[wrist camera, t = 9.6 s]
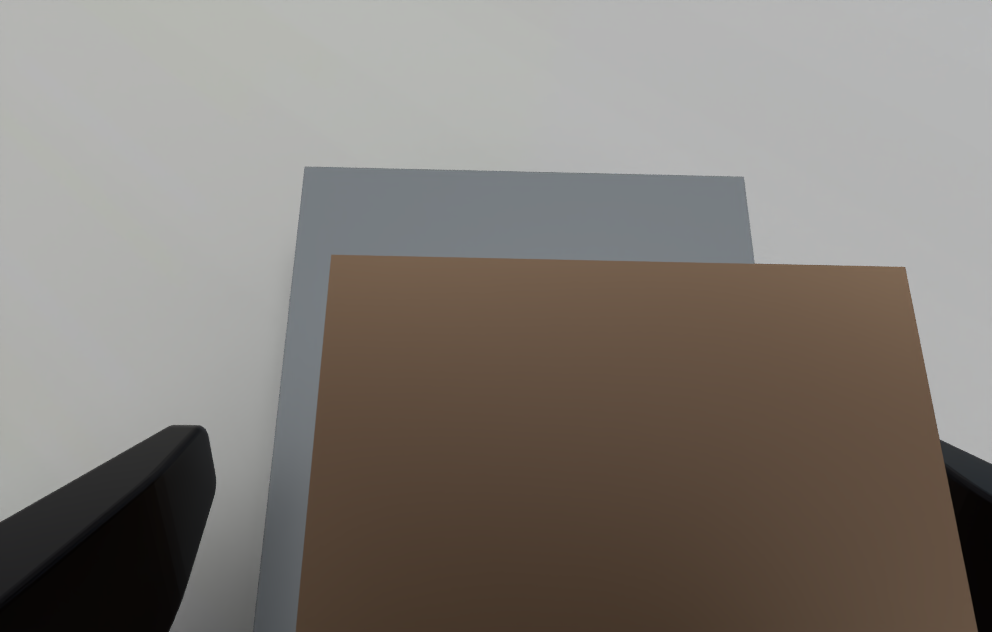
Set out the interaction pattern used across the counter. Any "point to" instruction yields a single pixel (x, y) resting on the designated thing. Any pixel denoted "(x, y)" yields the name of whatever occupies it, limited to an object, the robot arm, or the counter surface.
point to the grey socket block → (470, 234)
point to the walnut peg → (625, 451)
